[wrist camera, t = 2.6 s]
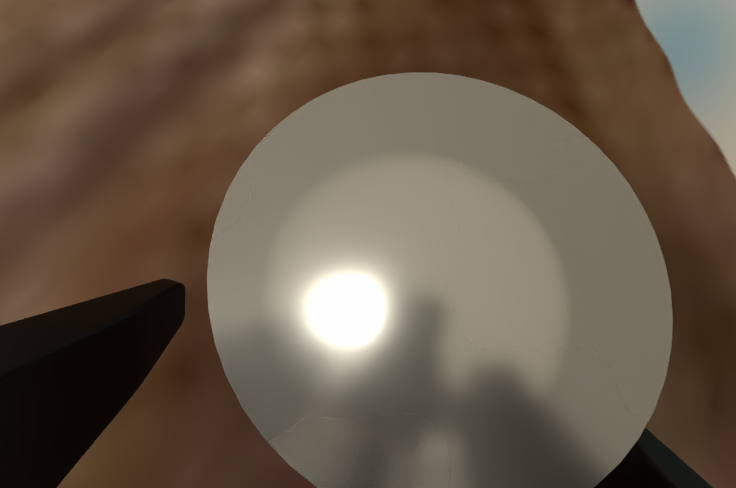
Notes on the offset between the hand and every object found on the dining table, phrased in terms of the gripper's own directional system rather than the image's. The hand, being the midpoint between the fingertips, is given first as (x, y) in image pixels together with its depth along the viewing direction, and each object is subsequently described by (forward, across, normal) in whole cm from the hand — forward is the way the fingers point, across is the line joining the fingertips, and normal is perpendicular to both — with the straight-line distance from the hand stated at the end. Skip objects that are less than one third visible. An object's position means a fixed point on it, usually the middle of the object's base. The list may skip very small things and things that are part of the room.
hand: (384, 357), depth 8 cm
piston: (+7, 0, +6) cm, 9 cm away
